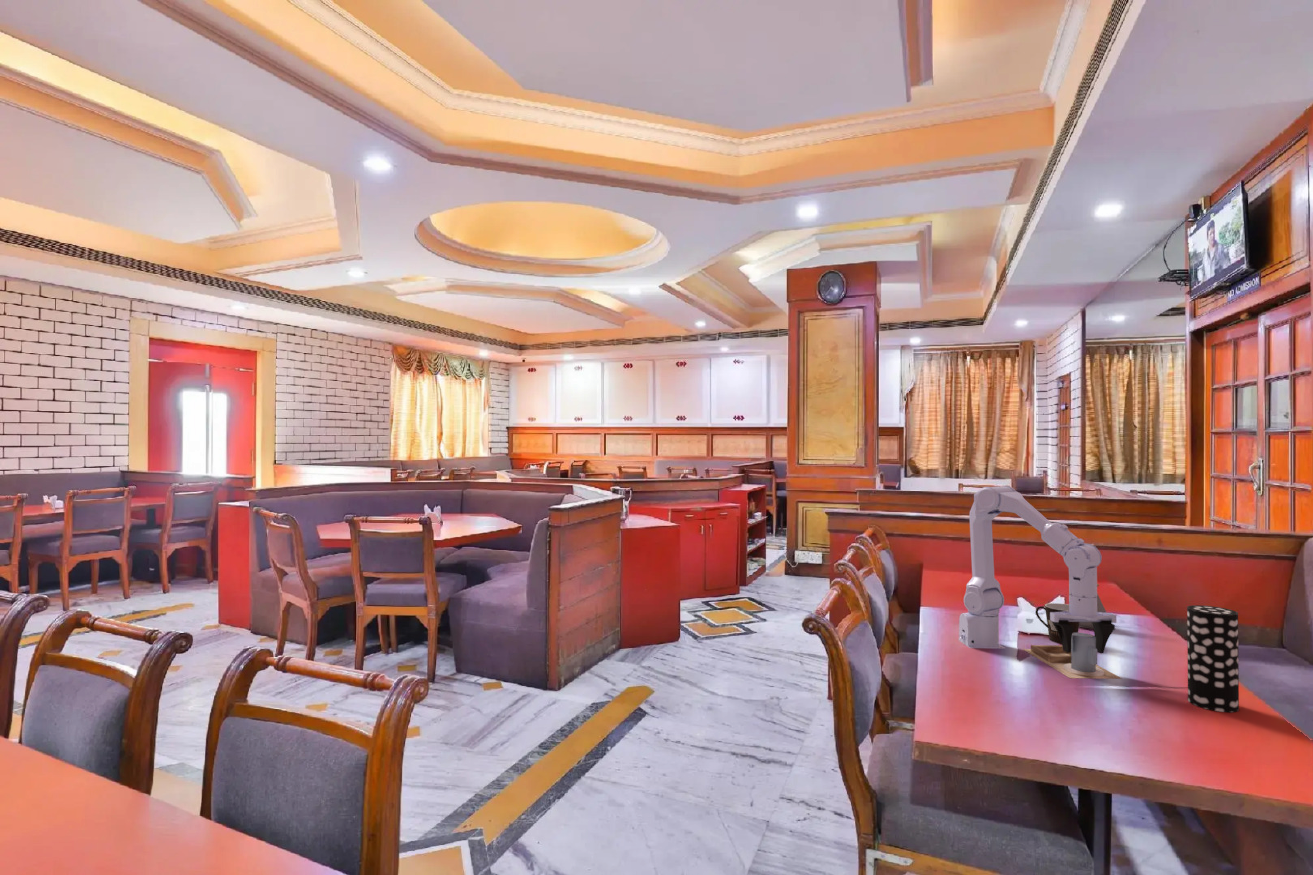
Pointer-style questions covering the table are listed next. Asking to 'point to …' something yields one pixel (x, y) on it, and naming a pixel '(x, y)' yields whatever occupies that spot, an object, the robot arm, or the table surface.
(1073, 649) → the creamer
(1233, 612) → the white-spotted black cylinder
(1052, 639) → the coffee mug
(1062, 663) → the jug board
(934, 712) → the table surface
